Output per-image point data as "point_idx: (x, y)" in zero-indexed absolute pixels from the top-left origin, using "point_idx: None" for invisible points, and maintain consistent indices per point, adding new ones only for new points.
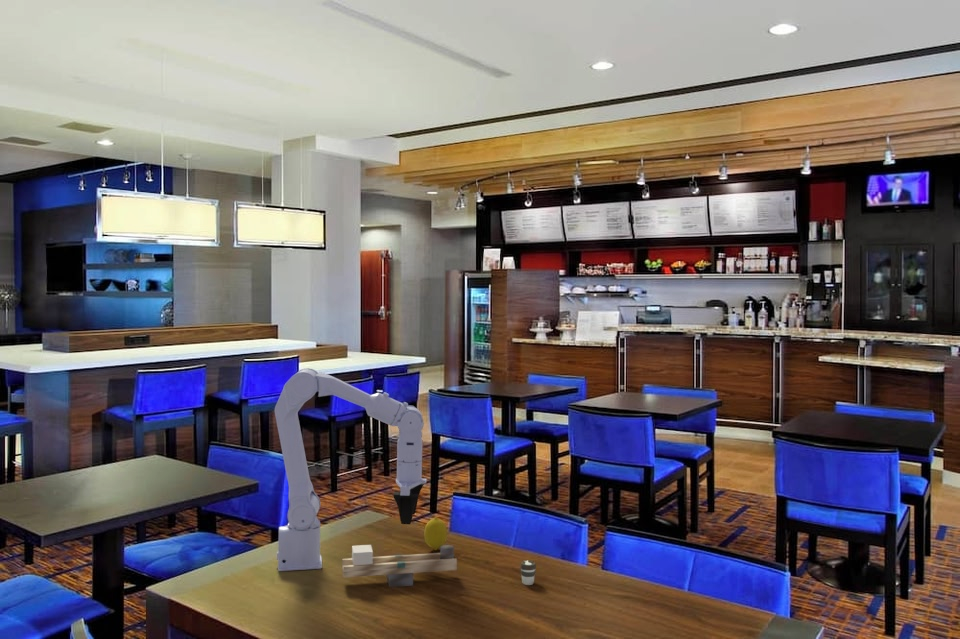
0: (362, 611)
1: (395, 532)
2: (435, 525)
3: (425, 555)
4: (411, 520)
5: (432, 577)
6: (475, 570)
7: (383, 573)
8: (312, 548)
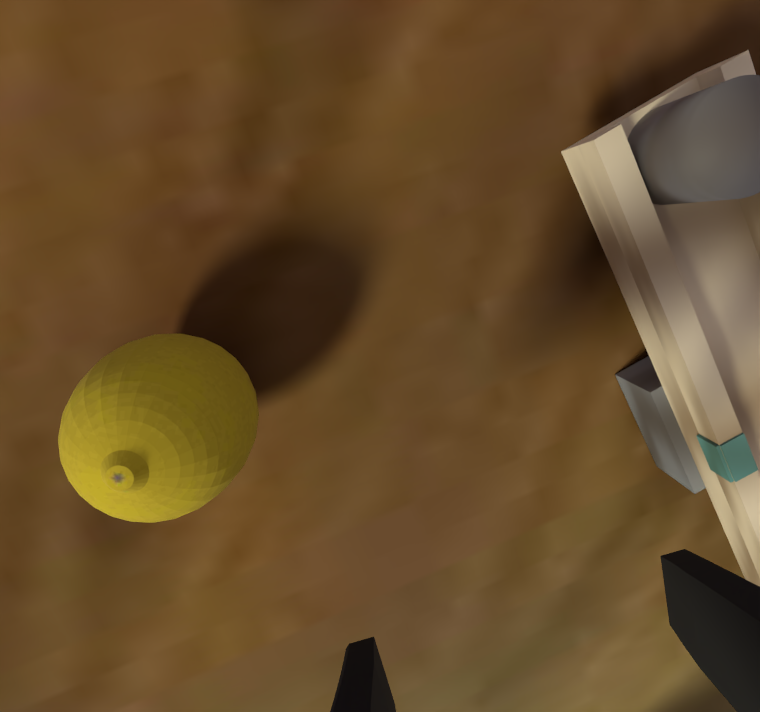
0: None
1: (8, 696)
2: (210, 433)
3: (692, 306)
4: (710, 563)
5: None
6: (450, 27)
7: None
8: None
